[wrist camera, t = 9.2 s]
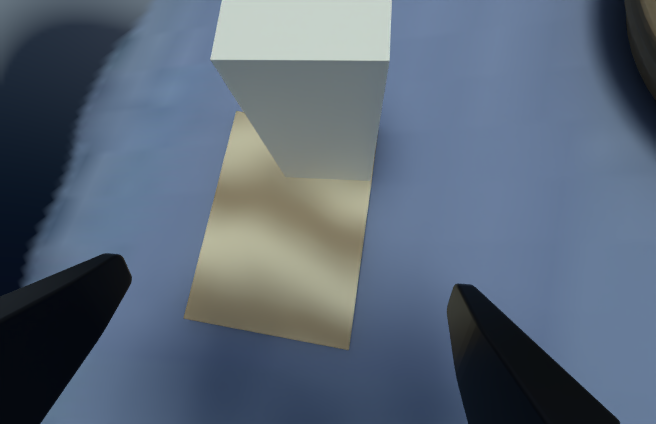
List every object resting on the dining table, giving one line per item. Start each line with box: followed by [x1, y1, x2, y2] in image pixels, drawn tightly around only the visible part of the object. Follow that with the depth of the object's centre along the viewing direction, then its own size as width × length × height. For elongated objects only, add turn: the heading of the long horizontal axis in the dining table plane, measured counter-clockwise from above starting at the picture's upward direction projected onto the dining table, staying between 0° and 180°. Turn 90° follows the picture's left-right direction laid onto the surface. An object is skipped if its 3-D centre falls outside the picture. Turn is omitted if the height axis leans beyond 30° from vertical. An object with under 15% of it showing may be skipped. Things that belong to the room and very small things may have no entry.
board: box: [184, 111, 378, 350], centre depth 19 cm, size 14×10×1 cm
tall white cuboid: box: [210, 0, 392, 181], centre depth 15 cm, size 4×6×10 cm
